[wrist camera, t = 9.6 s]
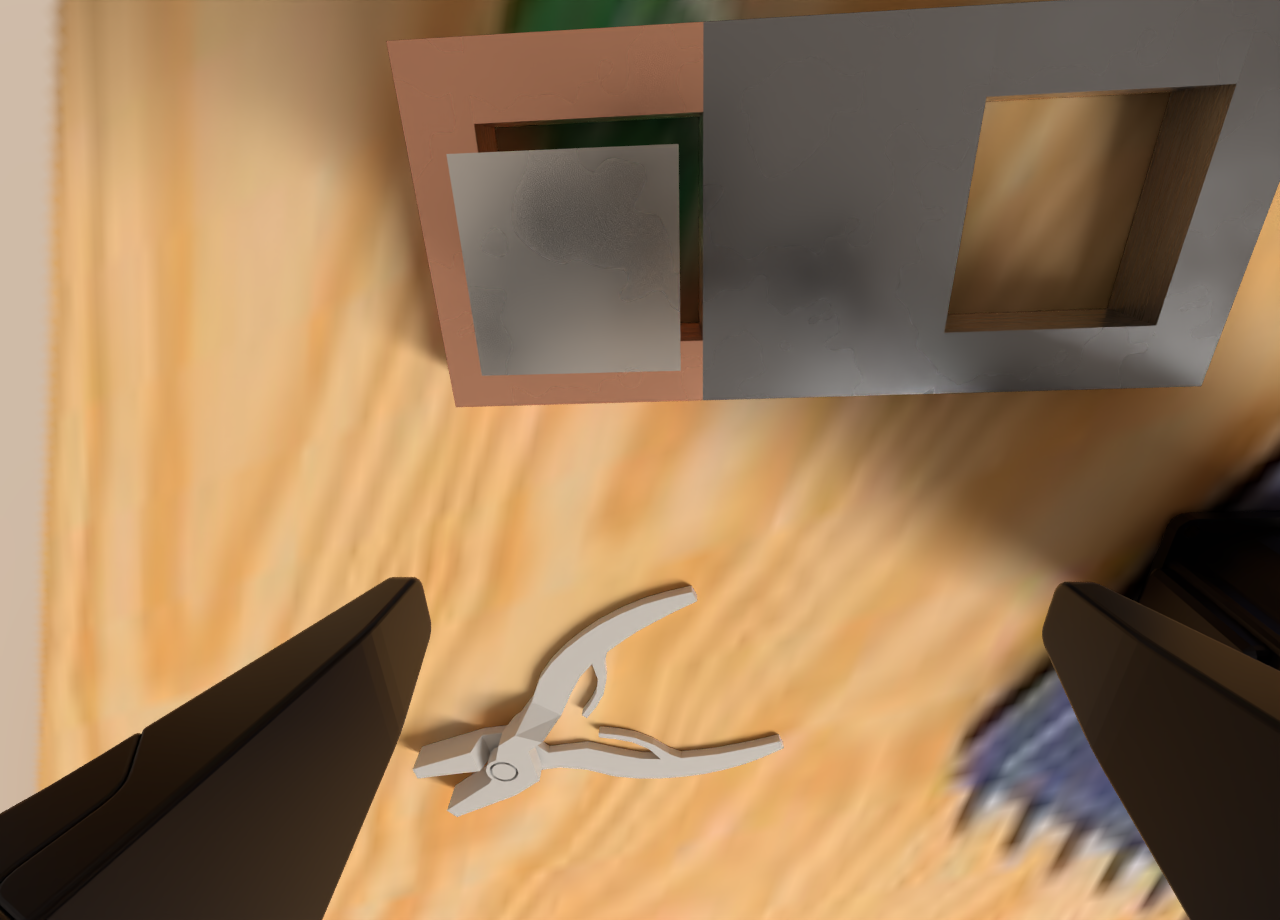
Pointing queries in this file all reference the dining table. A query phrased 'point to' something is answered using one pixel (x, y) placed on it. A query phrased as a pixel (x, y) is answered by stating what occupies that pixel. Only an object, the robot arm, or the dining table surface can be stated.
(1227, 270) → the grey copper slotted plate
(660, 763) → the pliers
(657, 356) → the grey metal block
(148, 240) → the dining table surface
